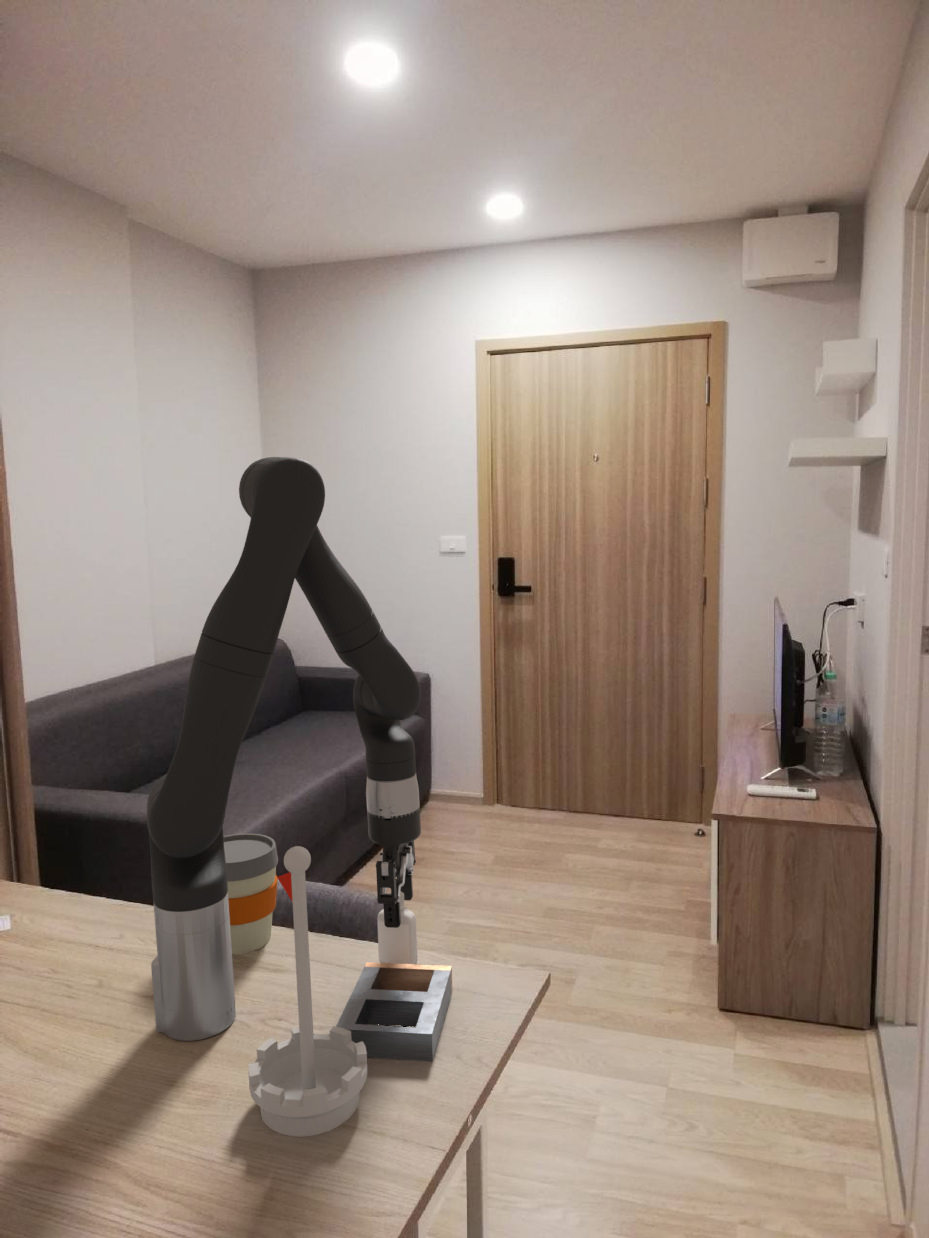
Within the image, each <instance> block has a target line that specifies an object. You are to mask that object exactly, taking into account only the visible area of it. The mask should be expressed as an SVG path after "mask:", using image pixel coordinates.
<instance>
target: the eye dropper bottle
mask: <svg viewBox="0 0 929 1238" xmlns="http://www.w3.org/2000/svg"><path fill="white" fill-rule="evenodd" d="M387 894H391V891H389V892H387ZM400 916H401V924H400V926H399V927H398V928H390V927H386V926H385V924H384V908H383V909H381V910H380V911H379V912H378V914H377V945H378V948H377V949H378V963H395V964H417V963H418V959H419V958H418V937H417V934H418V933H417V918H416V915H415V913H414V912H413V911H411V910H410V909H408V908H406V907H405V900H404V893H403V892H401V891H400Z"/></svg>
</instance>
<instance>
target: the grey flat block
mask: <svg viewBox="0 0 929 1238" xmlns="http://www.w3.org/2000/svg"><path fill="white" fill-rule="evenodd" d="M362 969H363V970H362V971H361V973H360V975H359V977H358V979H357V981H356V984H355V986H354V987H353V989H352V992H351V994H350V996H349V998H348V1001H347V1003H346V1005H345V1006H344V1009H343V1010H342V1013H341V1015H340V1017H339V1019H338V1021H337V1024H336V1025H335V1026H336V1027H340V1028H344V1029H346V1030H349V1031H351V1040H352V1041H353V1042H354V1043H359V1042H362V1041H363V1043H364V1045H365V1047H366V1053H367V1059H368V1058H371V1059H384V1060H385V1059H389V1060H404V1061H405V1060H407V1061H424V1062H433V1061H434V1059H435V1055H436V1051H437V1048H438V1045H437V1044H439V1041H440V1037H441V1034H440V1033H442V1030H443V1025H444V1022H445V1019H446V1015H447V1011H448V1007H449V1004H450V1002H451V998H452V994H453V991H454V990H453V966H452V965H440V964H439V965H438V964H437V965H436V964H435V965H434V964H417V963H416V964H395V963H380V962H370V961H369V962H368V961H366V963H365V965H364V967H363V968H362ZM370 1024H373V1025H370ZM378 1024H379V1025H378ZM385 1025H394V1026H385ZM395 1025H401V1026H395ZM403 1026H416V1027H403Z"/></svg>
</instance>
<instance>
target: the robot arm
mask: <svg viewBox="0 0 929 1238" xmlns="http://www.w3.org/2000/svg"><path fill="white" fill-rule="evenodd" d="M238 487H239V488H238V494H239V500H240V503H241V506H242V508H243V510H244V512H246V514H247V515H248V516H249V517H250V521H249V526H248V529H247V534H246V538H245V543H244V546H243V548H242V553H241V555H240V558H239V560H238V563H237V565H236V567H235V568H234V571H233V572H232V574H231V575H230V578H229V579H228V581H227V582H226V584H225V585H224V587H223V588H222V590H221V592H220V593H219V595H218V596H217V599H216V600H215V602H214V603H213V605H212V607H211V609H210V611H209V613H208V615H207V618H206V620H205V622H204V624H203V627H202V630H201V633H200V637H199V640H198V643H197V646H196V649H195V653H194V656H193V659H192V664H191V667H190V672H189V676H188V681H187V685H186V687H187V688H186V692H185V700H184V706H183V715H182V722H181V729H180V734H179V738H178V742H177V747H176V749H175V752H174V754H173V757H172V759H171V763H170V766H169V768H168V770H167V773H166V774H164V775H163V776H162V777H160V778H159V779H158V780H157V781H156V782H155V784H154V785H153V787H152V788H151V790H150V792H149V794H148V797H147V801H146V825H147V830H148V839H149V851H150V873H151V874H150V875H151V890H152V899H153V900H152V901H153V912H154V913H153V914H154V915H153V916H154V926H155V939H156V940H155V941H156V953H157V955H156V956H155V957H154V958H153V959H152V961H151V964H150V966H151V968H150V969H151V980H152V981H151V982H152V992H153V993H152V994H153V1006H154V1008H153V1009H154V1020H155V1021H154V1022H155V1031H156V1032H157V1033H163V1034H165V1035H166V1036H167V1037H169V1038H171V1039H173V1040H178V1041H187V1042H189V1041H198V1040H204V1039H208V1038H210V1037H213V1036H215V1035H218V1034H220V1033H222V1032H223V1031H225V1030H226V1029H227V1028H229V1027H230V1026H231V1025H232V1024H233V1022H234V1021H235V1019H236V1012H237V1011H236V996H235V981H234V979H235V978H234V966H233V954H232V947H231V932H230V916H229V902H228V884H227V869H226V860H225V851H224V839H223V836H224V822H225V817H226V811H227V806H228V799H229V795H230V789H231V785H232V780H233V775H234V771H235V767H236V764H237V763H236V762H237V758H238V755H239V752H240V749H241V747H242V746H241V745H242V743H243V740H244V738H245V735H246V733H247V731H248V728H249V726H250V724H251V721H252V718H253V716H254V712H255V710H256V707H257V705H258V702H259V699H260V697H261V693H262V691H263V687H264V685H265V682H266V679H267V676H268V673H269V670H270V667H271V664H272V660H273V658H274V653H275V651H276V647H277V643H278V639H279V636H280V632H281V628H282V625H283V623H284V620H285V619H284V618H285V615H286V611H287V608H288V604H289V601H290V598H291V594H292V590H293V586H294V583H295V581H296V582H297V585H298V586H299V587H300V589H301V591H302V592H303V595H304V596H305V598H306V599H307V601H308V603H309V606H310V607H311V609H312V611H313V612H314V615H315V616H316V618H317V619H318V621H319V623H320V625H321V627H322V629H323V631H324V633H325V634H326V636H327V638H328V640H329V641H330V643H331V645H332V647H333V649H334V651H335V652H336V654H337V656H338V657H339V659H340V660H341V661H342V663H343V664H344V665H346V666H347V667H349V668H351V669H352V670H354V672H357V674H358V675H357V676H356V679H355V682H354V684H353V685H354V686H353V691H352V700H353V701H352V702H353V708H354V711H355V712H354V714H355V716H356V720H357V723H358V728H359V730H360V731H359V732H360V735H361V737H362V739H363V743H364V746H365V764H366V765H365V768H366V788H365V789H366V790H365V797H366V799H365V800H366V811H367V813H366V815H367V828H368V829H367V831H368V838H369V839H370V840H371V842H373V843H375V844H378V845H380V846H381V847H382V852H379V860H377V861H376V863H375V871H376V873H375V874H376V891H377V894H376V895H377V898H376V901H377V905H383V909H384V924H385V926H386V927H390V928H398V927H399V926H400V924H401V916H400V891H401V892H403V893H404V901H411V900H413V897H414V889H413V888H414V887H413V874H414V871H415V870H414V869H415V868H414V866H415V865H416V861H417V860H416V851H415V850H416V848H415V841H416V840H417V839H418V838H419V837H420V836H421V833H422V827H421V826H422V825H421V808H420V807H421V806H420V789H419V783H418V779H417V778H418V777H417V765H416V749H415V747H416V746H415V742H414V739H413V737H412V736H411V734H409V733H408V732H407V731H406V730H405V729H404V728H403V726H402V725H401V721H404V720H407V719H409V718H411V717H413V716H414V715H415V713H417V711H418V709H419V708H420V705H421V700H422V689H421V685H420V682H419V679H418V677H417V675H416V673H415V672H414V670H413V669H412V667H411V666H410V665H409V663H408V662H407V661H406V659H405V658H404V657H403V655H401V653H400V652H399V651H398V649H397V648H396V647H395V646H394V644H392V643H391V641H390V640H389V639H388V637H387V635H386V634H385V633H384V630H383V628H382V626H381V624H380V622H379V620H378V618H377V616H376V614H375V612H374V610H373V609H372V607H371V605H370V603H369V602H368V599H367V598H366V597H365V595H364V593H363V592H362V590H361V589H360V587H359V586H358V584H357V583H356V582H355V580H354V579H353V578H352V576H351V575H350V574H349V572H348V571H347V569H345V568H344V566H343V565H342V564H341V562H340V561H339V560H338V558H337V556H335V554H334V553H333V551H332V550H331V548H330V546H329V545H328V543H327V542H326V539H325V538H324V536H323V534H322V532H321V531H320V528H319V526H318V522H319V521H320V519H321V516H322V513H323V511H324V506H325V500H326V488H325V483H324V480H323V478H322V476H321V474H320V472H319V470H318V469H317V468H316V467H315V466H314V465H313V464H312V463H310V462H309V461H308V460H307V461H306V460H304V459H301V458H297V457H289V456H270V457H264V458H260V459H258V460H255V461H253V462H252V463H251V464H249V466H248V467H247V468H246V469H245V470H244V472H243V473H242V475H241V477H240V480H239V486H238ZM388 888H390V892H391V894H388V892H387V891H388Z"/></svg>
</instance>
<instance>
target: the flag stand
mask: <svg viewBox="0 0 929 1238" xmlns="http://www.w3.org/2000/svg"><path fill="white" fill-rule="evenodd" d="M311 863H312V857H311V854H310V851H309V850H308V849H307V848H305V847H303V846H301V845H300V846H299V845H295V846H292V847H290V848H289V849H287V851H286V852H285V854H284V857H283V865H284V867H285V869H286V870H287V871H288V872H287V873H284V874H282V875H278V876H277V878H278V881H279V883H280V885H281V886H282V888H283V889H284V891H285V892H286V894H287V896H288V897H289V899H290V901H291V903H292V914H293V915H292V916H293V933H294V934H293V935H294V936H293V937H294V953H295V954H294V955H295V956H294V957H295V970H296V971H295V973H296V974H295V975H296V993H297V1009H298V1027H294V1028H291V1029H290V1033H291V1034H290V1035H291V1038H288V1039H286V1040H282V1041H280V1042H279V1043H278V1040H276V1039H275V1038H273V1037H270V1038H269V1039H267V1040H266V1041H264V1042H262V1044H260V1046H258V1048H256V1059H255V1061H254V1062H249V1063H248V1069H247V1070H248V1073H247V1074H248V1087H249V1093H250V1097H251V1099H252V1100H253V1101H254V1103H255V1104H256V1105H257V1106H258V1107H260V1116H261V1119H262V1121H263V1123H264V1124H265V1125H266V1126H267V1127H268V1128H270V1130H272V1131H274V1132H276V1133H278V1134H281V1135H284V1136H290V1137H309V1136H311V1137H312V1136H317V1135H319V1134H324V1133H327V1132H329V1131H332V1130H334V1129H336V1128H338V1127H339V1126H341V1125H343V1124H344V1123H345V1122H346V1121H347V1120H349V1119H350V1118H351V1117H352V1116H353V1114H354V1113H355V1112H356V1110H357V1108H358V1106H359V1102H360V1092H361V1090H362V1089H363V1087H364V1086H365V1084H366V1081H367V1078H368V1077H367V1076H368V1057H367V1053H366V1047H365V1045H364V1043H363V1041H362V1042H359V1043H354V1042H353V1041H352V1040H351V1031H349V1030H346V1029H344V1028H340V1027H336V1025H333V1026H332V1028H330V1030H329V1034H328V1033H314V1021H313V1020H314V1018H313V1016H314V1015H313V1000H312V985H311V984H312V979H311V963H310V960H311V959H310V944H309V943H310V940H309V923H308V921H309V920H308V907H307V906H308V905H307V903H308V902H307V886H306V885H307V884H306V871H307V870H308V869H309V867H310V866H311Z"/></svg>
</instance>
